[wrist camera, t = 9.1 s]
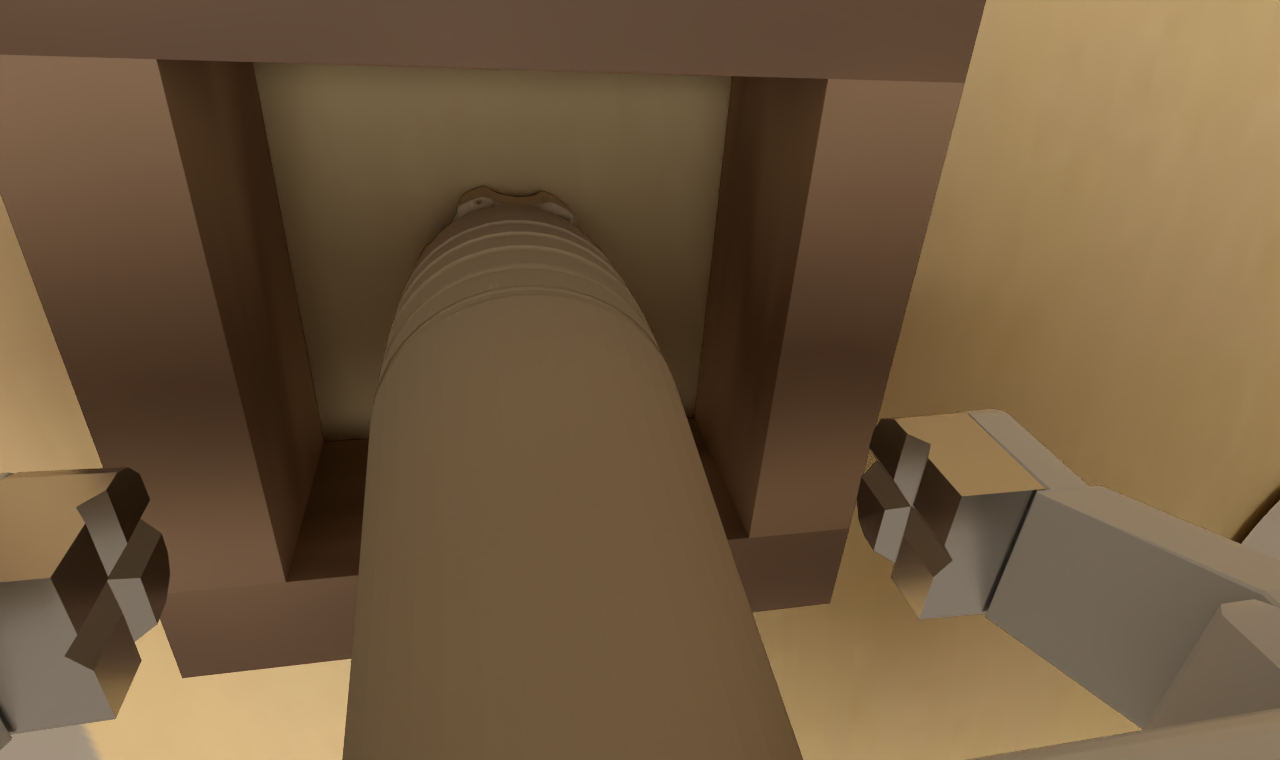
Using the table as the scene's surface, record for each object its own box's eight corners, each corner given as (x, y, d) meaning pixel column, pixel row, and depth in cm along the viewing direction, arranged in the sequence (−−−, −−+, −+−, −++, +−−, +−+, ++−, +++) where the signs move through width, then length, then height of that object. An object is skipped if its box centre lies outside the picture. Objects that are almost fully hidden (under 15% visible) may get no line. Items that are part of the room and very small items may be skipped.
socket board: (55, -149, 10) (-140, -181, 7) (865, -87, 13) (1009, -89, 9) (240, 523, 16) (182, 678, 13) (764, 481, 19) (829, 603, 15)
